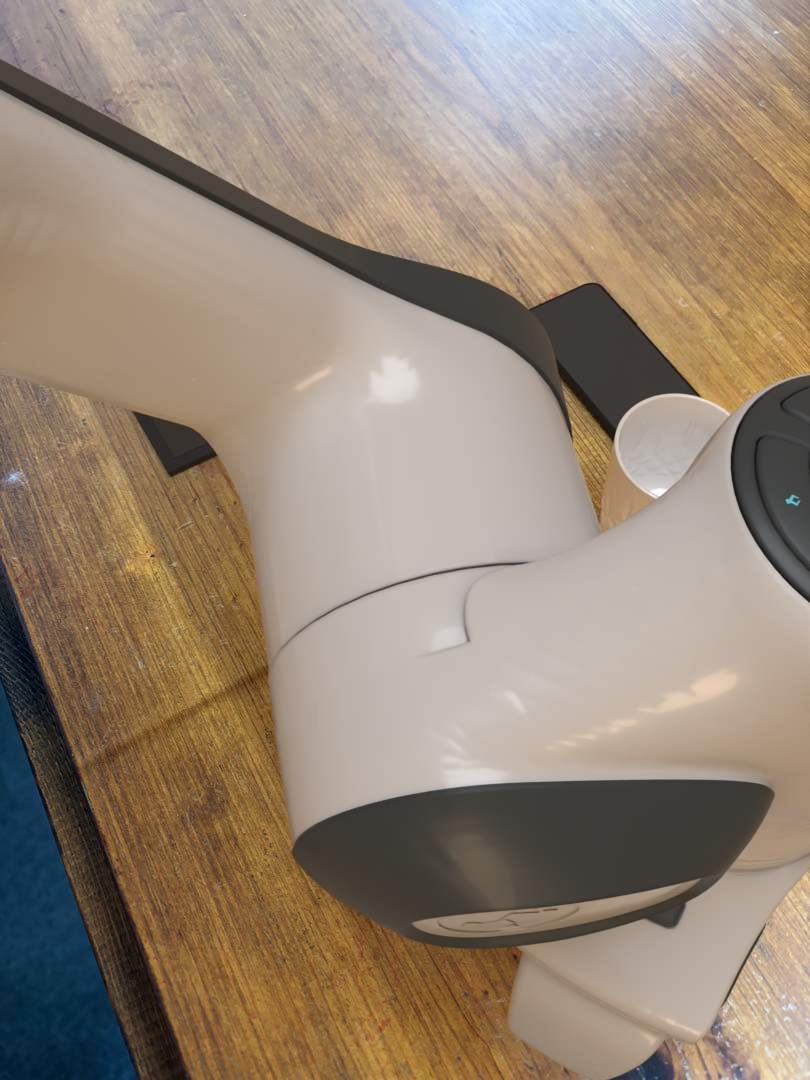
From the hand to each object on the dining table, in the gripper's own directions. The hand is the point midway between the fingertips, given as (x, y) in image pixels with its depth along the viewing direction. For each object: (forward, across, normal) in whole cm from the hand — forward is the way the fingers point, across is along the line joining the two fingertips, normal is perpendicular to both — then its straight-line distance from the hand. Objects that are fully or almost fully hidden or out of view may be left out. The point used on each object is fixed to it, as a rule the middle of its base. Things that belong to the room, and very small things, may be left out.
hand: (632, 848), depth 47 cm
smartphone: (+12, -34, -14) cm, 39 cm away
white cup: (+12, -23, -6) cm, 27 cm away
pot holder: (+12, -22, -39) cm, 47 cm away
